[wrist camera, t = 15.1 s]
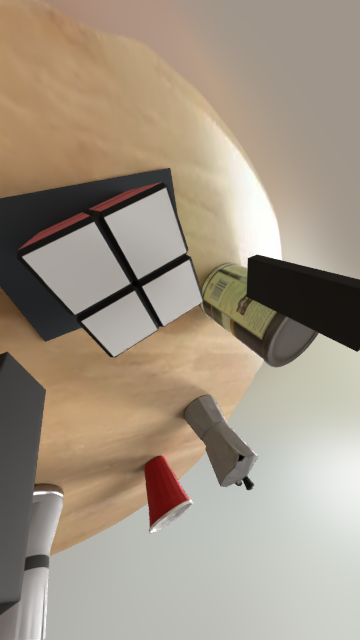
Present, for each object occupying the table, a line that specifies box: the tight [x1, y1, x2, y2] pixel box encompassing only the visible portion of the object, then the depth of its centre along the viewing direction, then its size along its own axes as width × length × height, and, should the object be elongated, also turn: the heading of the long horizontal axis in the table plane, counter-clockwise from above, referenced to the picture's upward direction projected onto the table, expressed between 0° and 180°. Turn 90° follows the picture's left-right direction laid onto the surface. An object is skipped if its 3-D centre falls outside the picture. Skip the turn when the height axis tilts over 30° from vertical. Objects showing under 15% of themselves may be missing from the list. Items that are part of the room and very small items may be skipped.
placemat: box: [0, 168, 177, 342], centre depth 22 cm, size 20×14×1 cm
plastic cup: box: [144, 456, 193, 534], centre depth 46 cm, size 11×11×12 cm
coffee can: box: [201, 263, 318, 367], centre depth 28 cm, size 10×10×14 cm
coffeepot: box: [184, 395, 258, 490], centre depth 42 cm, size 15×9×18 cm, turn 9°
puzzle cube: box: [17, 182, 204, 357], centre depth 18 cm, size 10×10×10 cm
